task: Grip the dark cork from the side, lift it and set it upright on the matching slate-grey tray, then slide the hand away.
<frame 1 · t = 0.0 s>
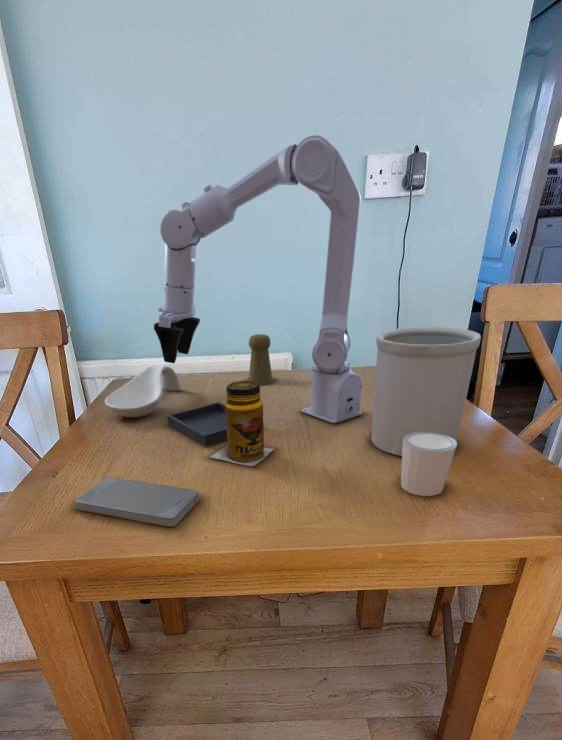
hand: (176, 357, 96), 11 cm above the table, tool pointing down, fingers open, 7 cm apart
spoon rest: (149, 405, 104), on the table
cork: (260, 381, 116), on the table
utensil holder: (411, 442, 79), on the table
phone: (139, 505, 66), on the table
slate tray: (213, 427, 90), on the table
white cup: (421, 487, 66), on the table
condiment: (242, 455, 78), on the table
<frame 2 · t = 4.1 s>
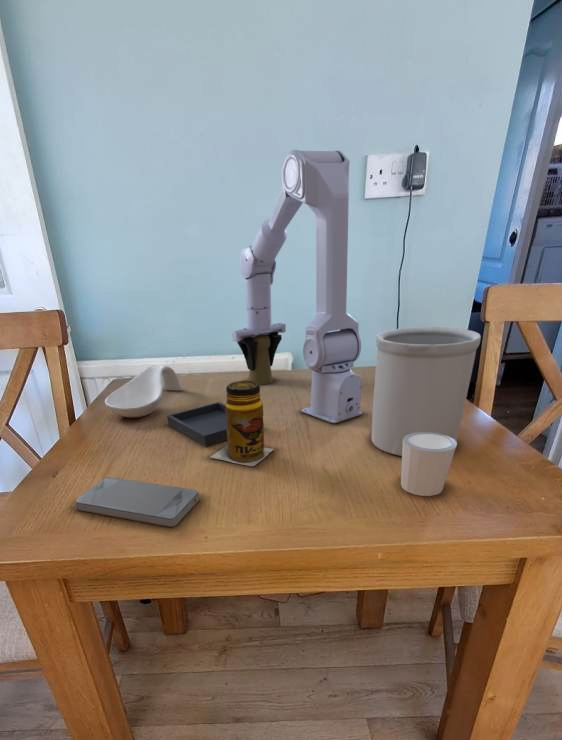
hand: (260, 367, 114), 3 cm above the table, tool pointing down, fingers closed on cork, 5 cm apart
cork: (260, 381, 115), on the table, touching gripper
everything else where it was.
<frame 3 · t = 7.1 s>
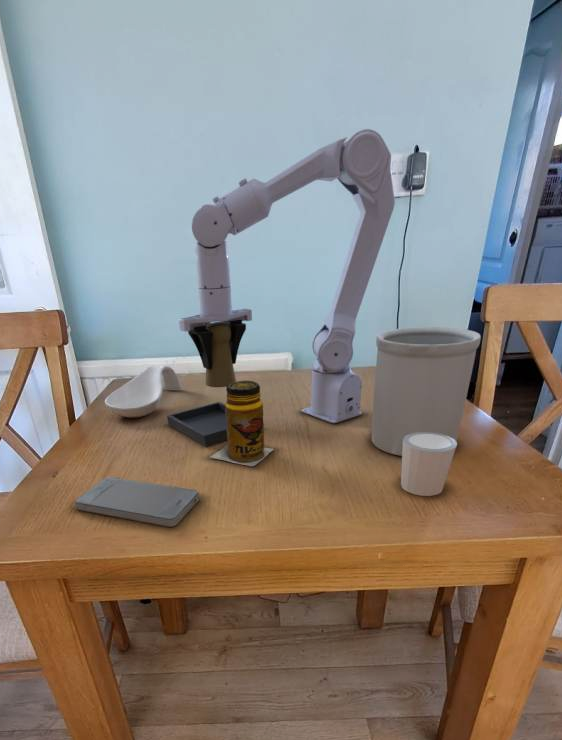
hand: (219, 365, 89), 10 cm above the table, tool pointing down, fingers closed on cork, 5 cm apart
cork: (220, 383, 91), point 7 cm above the table, touching gripper
everything else where it was.
when the fingers open (4 cm above the table, at t = 10.0 s): cork stays where it is, resting on slate tray.
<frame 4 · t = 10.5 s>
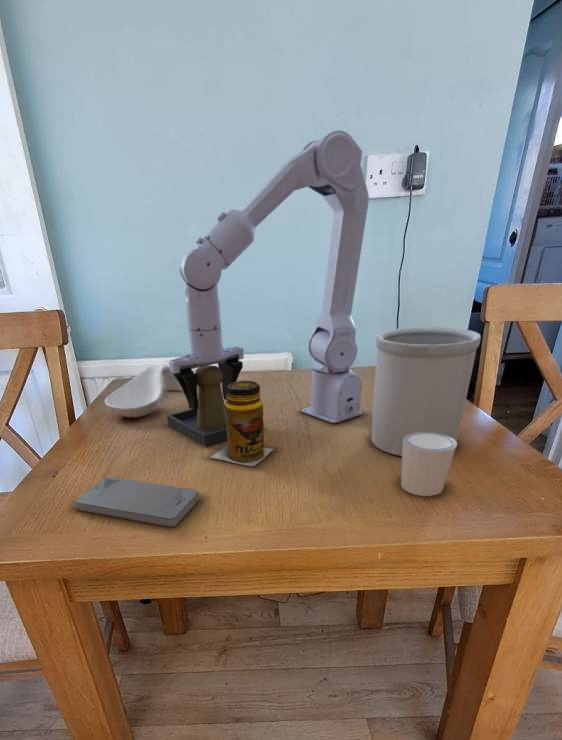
hand: (211, 404, 87), 5 cm above the table, tool pointing down, fingers open, 7 cm apart
cork: (212, 425, 89), resting on slate tray
everything else where it was.
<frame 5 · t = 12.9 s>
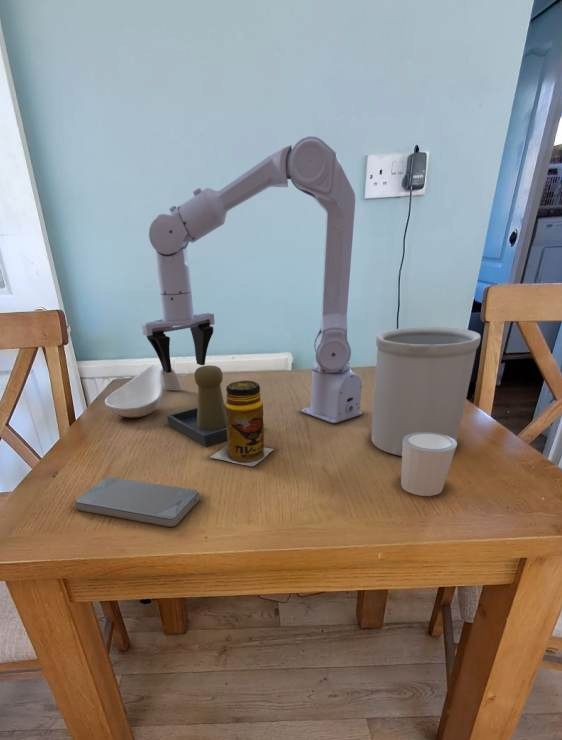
hand: (184, 368, 92), 10 cm above the table, tool pointing down, fingers open, 7 cm apart
nothing on the table moved.
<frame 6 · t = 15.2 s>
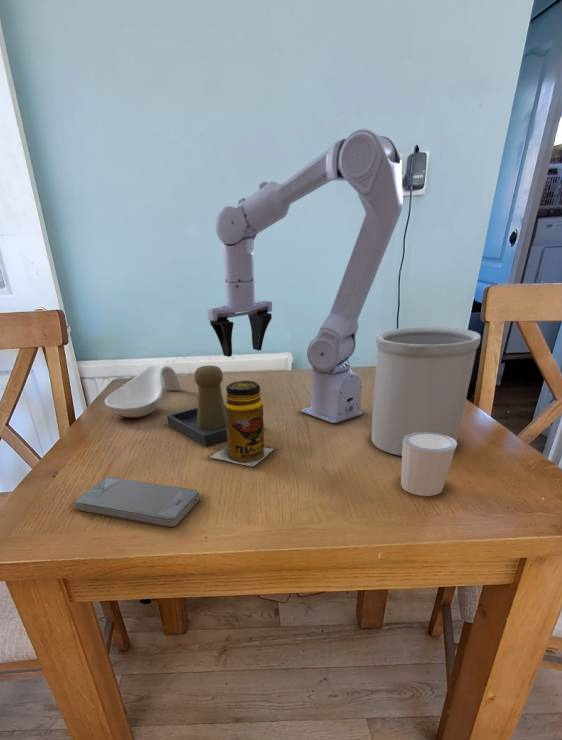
hand: (242, 352, 97), 10 cm above the table, tool pointing down, fingers open, 7 cm apart
nothing on the table moved.
at the end: cork inside the target area in the slate tray (0.1 cm from its centre), point 0.4 cm above the slate tray's base; cork tilted 0° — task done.
